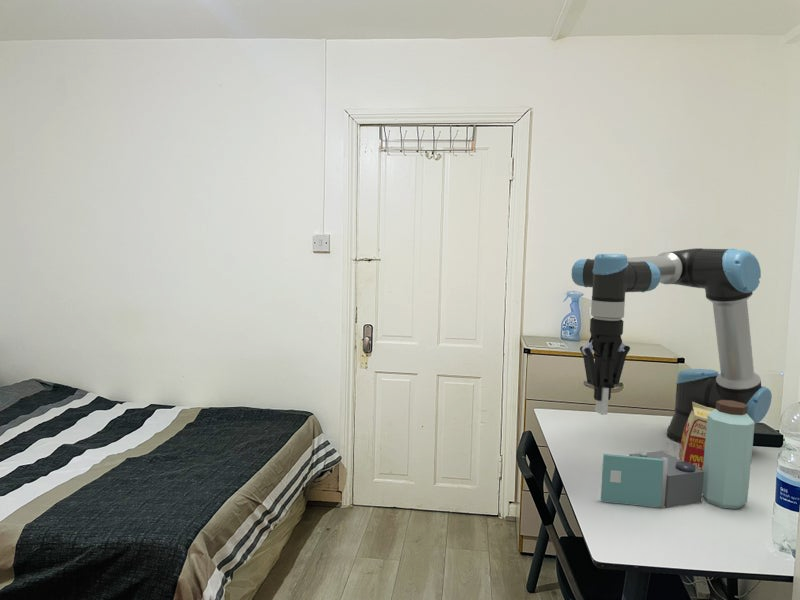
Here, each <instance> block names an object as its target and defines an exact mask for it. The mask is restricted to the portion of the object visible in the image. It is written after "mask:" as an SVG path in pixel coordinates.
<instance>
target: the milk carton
mask: <svg viewBox="0 0 800 600" xmlns="http://www.w3.org/2000/svg"><path fill="white" fill-rule="evenodd" d="M692 404H693V407H692V411H691V413H690V415H689V418H688V420H687V423H686V425H685V427H684V431H683V435H682V440H681V443H679V453H678V454H679V456H678V457H679V458H678V459H680V460H682V461H684V462H688V463H691V464H694V465H695V466H696V468H698V469H700V470H702V471H703V463H704V451H705V439H706V427H707V416H708V414H709V413H711V412H712V411H713V410H714V409H713V408H709V407H705V406H702V405H700V404H697V403H694V402H692Z"/></svg>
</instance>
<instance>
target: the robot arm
mask: <svg viewBox="0 0 800 600" xmlns="http://www.w3.org/2000/svg"><path fill="white" fill-rule="evenodd" d="M761 271H762V270H761V265H760V262H759V260H758V258H757V257H756V256H755V254H753V253H752V252H751V251H749V250H746V249H745V250H744V249H737V248H700V247H698V248H696V247H695V248H688V249H681V250H674V251H665V252H661V253H659V254H657V255H653V256H651V255H650V256H638V257H637V256H635V257H628V256H627V255H626V254H620V253H598V254H596V255H595V257H594V259H591V258H582V259H578V260H576V261H575V262H574V264H573V265H572V268H571V280H572V282H573V283H574V284H575V285H577V286H579V287H584V288H592V290H591V291H592V293H591V304H590V305H591V307H590V308H591V309H590V315H591V318H590V320H589V321H590V322H589V332H590V337H589V340H588V344H586V345H585V346H580V347H579V351H580V353H581V355H582V356H583V364H584V370H585V377H586V383H587V384H588V385H591V386H593V387H594V389H593V390H594V391H593V399H594V400H595V407H594V408H595V409H594V412H596V413H598V414H600V415H603V416H604V415H608V409H609V407H608V406H609V401H610V399H611V397H612V396H611V395H612V389H613V390H614V388H615V387H616V386H617V385H619V383H620V379H621V377H622V373H623V369H624V365H625V362H626V359H627V358H626V357H627V355H628V354H629V352H630V350H631V347H630V346H629V345H626V344H625V343H623V340H622V335H623V333H624V320H623V318H624V317H625V307H626V301H625V300H626V293H646V292H650V291H652V290H655V289H656V288H657V287H658V286H659V284H663V285H678V286H683V287H689V288H698V289H704V291H705V298H706V300H708V301H710V302H711V303H712V308H713V315H714V317H713V318H714V326H715V334H716V335H715V336H716V344H717V351H718V359H719V368H720V369H719V370H720V371H718V370H715V369H707V368H691V369H690V368H689V369H688V368H687V369H683V370H680V371H679V372H678V375H677V378H676V383H675V384H676V389H675V390H676V391H675V404H674V414H673V416H672V418H671V420H670V423H669V425H668V427H667V431H666V435H667V437H668V438H669V439H670V440H672V441H675V442H676V443H677V442H678V443H679V444H681V440H682V435H683V431H684V427H685V425H686V423H687V420H688V418H689V415H690V413H691V411H692V407H693V404H692V402H694V403H697V404H700V405H702V406H705V407H709V408H713V409H715V408H716V401H719V400H732V401H736V402H741V403H744V404H746V405H747V406H748V410H747V414H748V415H749V417H750V418H751V419H752V420H753V421H754V422H755V425H756V424H759V423H760V422H761V421H762V420H763V419H764V418H765V417H766V415H767V414H768V412H769V410H770V407H771V405H772V404H771V403H772V399H773V398H772V391H771V390H770V389H769V388H768V387H766V386H762V379H761V377H760V375H759V374H758V373H756V372H755V369H754V358H753V350H752V349H753V348H752V339H751V327H750V316H749V307H748V300H749V299H750V298H751V297H752V295H753V292H755V290H757V289H758V287H759V285H760V283H761V281H760V279H761V278H762V277H761V276H762V275H761V274H762V272H761ZM719 372H720V373H719ZM615 385H616V386H615Z"/></svg>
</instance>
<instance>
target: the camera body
mask: <svg viewBox="0 0 800 600" xmlns="http://www.w3.org/2000/svg"><path fill="white" fill-rule="evenodd" d="M628 456H636V457H647V458H659V459H662V457H666V458H668V466H667V479H666V491H665V504H664V508H674V507H680V506H686V505H687V506H688V505H693V504H694V503H695V504H701V503H702V499H703V494H702V490H703V479H704V471H702V470H700V469H698V468H696V466H695V465H694V464H691V463H688V462H684V461H682V460H680V459H679V458H678V457H676V456H674V455H672V454H670V453H668V452H666V451H663V450H656V451H655V450H654V451H648V452H645V451H640V452H638V453H629V454H628Z"/></svg>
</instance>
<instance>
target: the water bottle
mask: <svg viewBox="0 0 800 600" xmlns="http://www.w3.org/2000/svg"><path fill="white" fill-rule="evenodd" d="M747 410H748V406H747V405H746V404H744V403H741V402H736V401H732V400H719V401H716V408H715V409H714V410H713V411H712V412H711V413H709V414H708V416H707V427H706V439H705V451H704V463H703V471H704V479H703V490H702V496H703V498H704V499H706V501H707V502H708V503H710V504H713V505H715V506H717V507H720V508H722V509H730V510H733V509H734V510H737V509H739V508H741V507H743V506H744V505H746V503H747V502H748V498H749V497H748V496H749V487H750V486H749V485H750V477H751V465H752V454H753V445H754V436H755V435H754V434H755V425H756V424H755V422H754V421H753V420H752V419H751V418H750V417H749V415H748V414H747Z"/></svg>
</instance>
